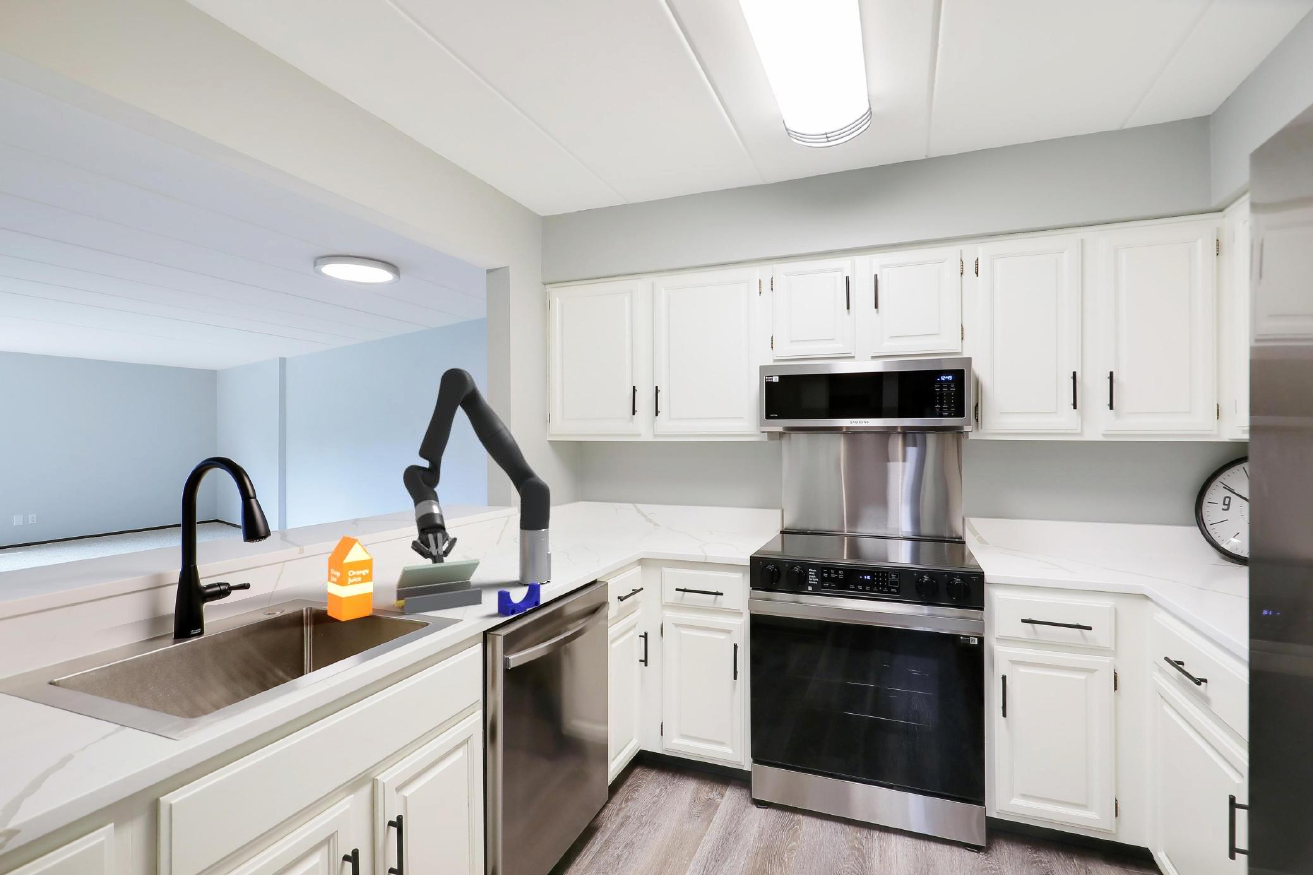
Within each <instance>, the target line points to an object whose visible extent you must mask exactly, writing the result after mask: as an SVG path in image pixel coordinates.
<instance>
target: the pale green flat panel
mask: <svg viewBox="0 0 1313 875" xmlns="http://www.w3.org/2000/svg"><path fill="white" fill-rule="evenodd" d="M480 563H481V562H480V559H479V558H477V559H467V560H458V561H448V562H444V563H437V564H432V563H428V564H427V563H426V564H420V565H419V564H418V565H417V564H416V565H410V566H409V565H408V566H403V567H402V570H401V573H400V576H399V578H398V581H397V583H396V585H395V586H396V587H395V588H396V590H398V589H406V588H414V587H422V586H430V585H439V584H447V583H455V582H463V581H470V580H471V578H472V576H473V574H474V573H475V571H476V569H477V568H478V566H479V565H480Z"/></svg>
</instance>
